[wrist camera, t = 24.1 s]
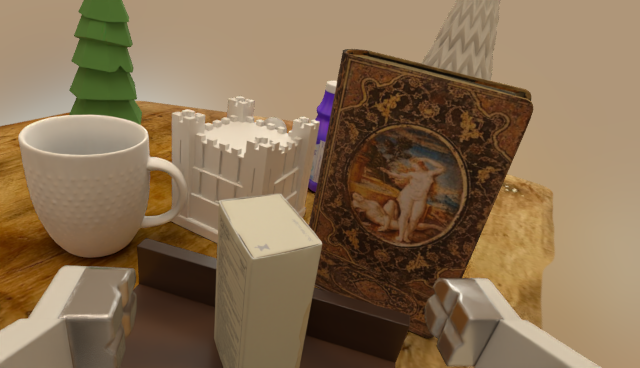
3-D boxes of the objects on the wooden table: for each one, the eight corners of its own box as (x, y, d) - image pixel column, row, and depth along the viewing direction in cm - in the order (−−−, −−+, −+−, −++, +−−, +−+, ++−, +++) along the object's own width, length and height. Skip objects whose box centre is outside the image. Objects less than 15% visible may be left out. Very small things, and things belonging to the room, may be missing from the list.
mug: (188, 214, 51) (190, 121, 45) (183, 269, 42) (185, 161, 36) (58, 213, 47) (42, 109, 41) (21, 274, 37) (-7, 152, 31)
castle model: (231, 185, 60) (239, 95, 53) (317, 220, 55) (336, 126, 49) (169, 220, 49) (169, 113, 43) (269, 268, 44) (285, 155, 38)
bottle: (301, 174, 68) (318, 75, 60) (332, 177, 69) (352, 80, 61) (306, 195, 61) (326, 87, 54) (340, 197, 63) (364, 92, 55)
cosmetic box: (297, 387, 27) (329, 246, 21) (234, 412, 24) (252, 261, 19) (264, 320, 31) (283, 190, 26) (209, 335, 29) (217, 197, 23)
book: (293, 275, 44) (334, 50, 33) (314, 252, 49) (357, 47, 37) (433, 342, 39) (539, 102, 28) (442, 309, 43) (536, 91, 32)
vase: (450, 178, 78) (515, 3, 63) (473, 222, 63) (565, 5, 48) (370, 163, 78) (416, -17, 63) (373, 203, 63) (435, -20, 48)
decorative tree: (157, 165, 62) (153, -50, 48) (111, 188, 53) (90, -63, 40) (108, 148, 64) (91, -62, 50) (56, 168, 56) (19, -77, 42)
